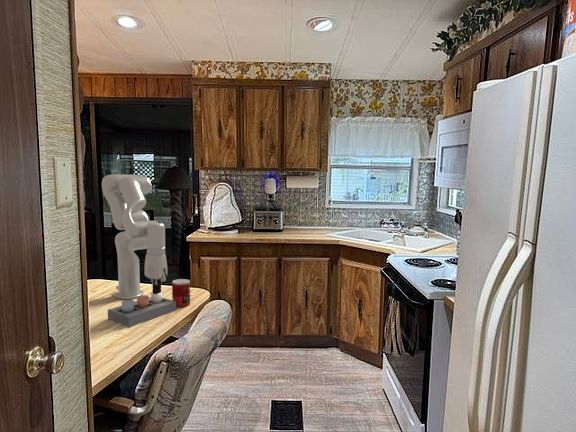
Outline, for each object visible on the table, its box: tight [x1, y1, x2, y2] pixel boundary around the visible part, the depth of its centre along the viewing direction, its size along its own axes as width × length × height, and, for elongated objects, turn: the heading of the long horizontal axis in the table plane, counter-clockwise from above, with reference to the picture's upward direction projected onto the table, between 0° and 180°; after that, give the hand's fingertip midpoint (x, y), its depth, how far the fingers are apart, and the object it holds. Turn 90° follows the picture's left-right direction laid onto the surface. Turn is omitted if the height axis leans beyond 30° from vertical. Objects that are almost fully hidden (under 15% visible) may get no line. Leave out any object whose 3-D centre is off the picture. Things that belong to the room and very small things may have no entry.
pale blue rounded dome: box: [121, 299, 135, 314], centre depth 155 cm, size 5×5×4 cm
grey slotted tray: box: [107, 296, 177, 328], centre depth 161 cm, size 14×23×4 cm, turn 147°
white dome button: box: [150, 291, 163, 304], centre depth 166 cm, size 5×5×4 cm
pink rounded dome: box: [136, 294, 150, 309], centre depth 160 cm, size 5×5×4 cm
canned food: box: [171, 278, 191, 308], centre depth 174 cm, size 8×8×11 cm
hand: (156, 293), depth 166 cm, fingers closed
